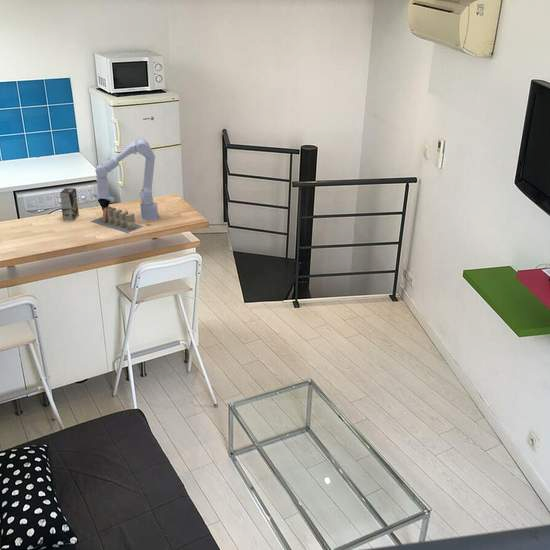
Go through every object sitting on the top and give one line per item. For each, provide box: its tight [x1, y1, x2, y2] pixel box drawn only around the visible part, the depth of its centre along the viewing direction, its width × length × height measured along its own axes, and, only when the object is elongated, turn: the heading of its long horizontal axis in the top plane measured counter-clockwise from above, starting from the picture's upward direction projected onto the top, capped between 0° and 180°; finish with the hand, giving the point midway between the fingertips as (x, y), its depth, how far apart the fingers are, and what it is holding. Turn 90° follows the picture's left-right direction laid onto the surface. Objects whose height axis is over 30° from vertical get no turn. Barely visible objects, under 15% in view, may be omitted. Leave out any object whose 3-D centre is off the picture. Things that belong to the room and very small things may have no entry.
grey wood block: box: [107, 206, 117, 224], centre depth 339 cm, size 2×4×8 cm, turn 147°
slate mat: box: [90, 216, 144, 234], centre depth 339 cm, size 28×12×1 cm, turn 57°
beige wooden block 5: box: [126, 212, 136, 230], centre depth 332 cm, size 2×4×8 cm, turn 147°
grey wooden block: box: [113, 209, 123, 226], centre depth 336 cm, size 2×4×8 cm, turn 147°
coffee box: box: [59, 187, 80, 222], centre depth 342 cm, size 9×6×16 cm
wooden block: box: [119, 210, 129, 228], centre depth 334 cm, size 2×4×8 cm, turn 147°
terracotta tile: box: [102, 205, 113, 222], centre depth 340 cm, size 2×4×8 cm, turn 144°
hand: (105, 211), depth 340 cm, fingers closed
